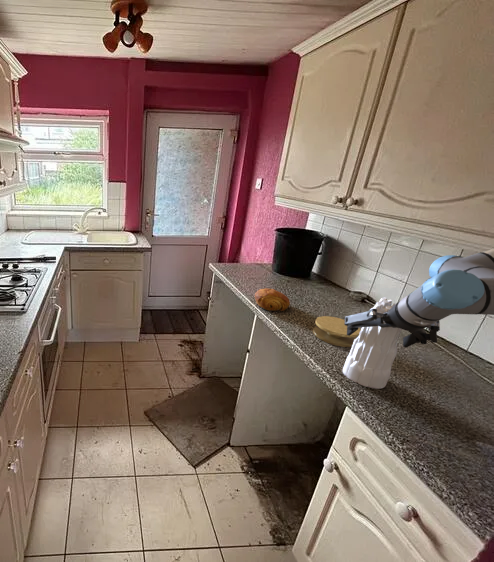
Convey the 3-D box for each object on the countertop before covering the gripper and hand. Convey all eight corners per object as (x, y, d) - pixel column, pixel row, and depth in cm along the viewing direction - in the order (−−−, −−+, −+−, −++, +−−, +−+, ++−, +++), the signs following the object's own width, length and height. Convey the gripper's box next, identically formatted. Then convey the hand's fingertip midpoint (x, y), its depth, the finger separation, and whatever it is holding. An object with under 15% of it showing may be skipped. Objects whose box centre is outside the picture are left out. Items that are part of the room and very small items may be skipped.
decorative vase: (388, 393, 88) (422, 315, 79) (343, 379, 93) (370, 304, 84) (382, 373, 97) (412, 300, 87) (341, 361, 102) (366, 291, 92)
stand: (347, 330, 121) (351, 319, 119) (363, 350, 109) (368, 337, 107) (307, 325, 124) (311, 313, 122) (319, 343, 112) (323, 331, 110)
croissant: (252, 312, 138) (255, 297, 134) (253, 295, 150) (256, 280, 147) (288, 318, 133) (293, 302, 129) (286, 300, 145) (290, 285, 141)
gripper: (352, 314, 76) (325, 338, 95) (489, 340, 67) (430, 360, 85) (353, 287, 79) (327, 315, 97) (486, 308, 70) (429, 335, 88)
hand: (375, 336), depth 91 cm, fingers open, 13 cm apart
